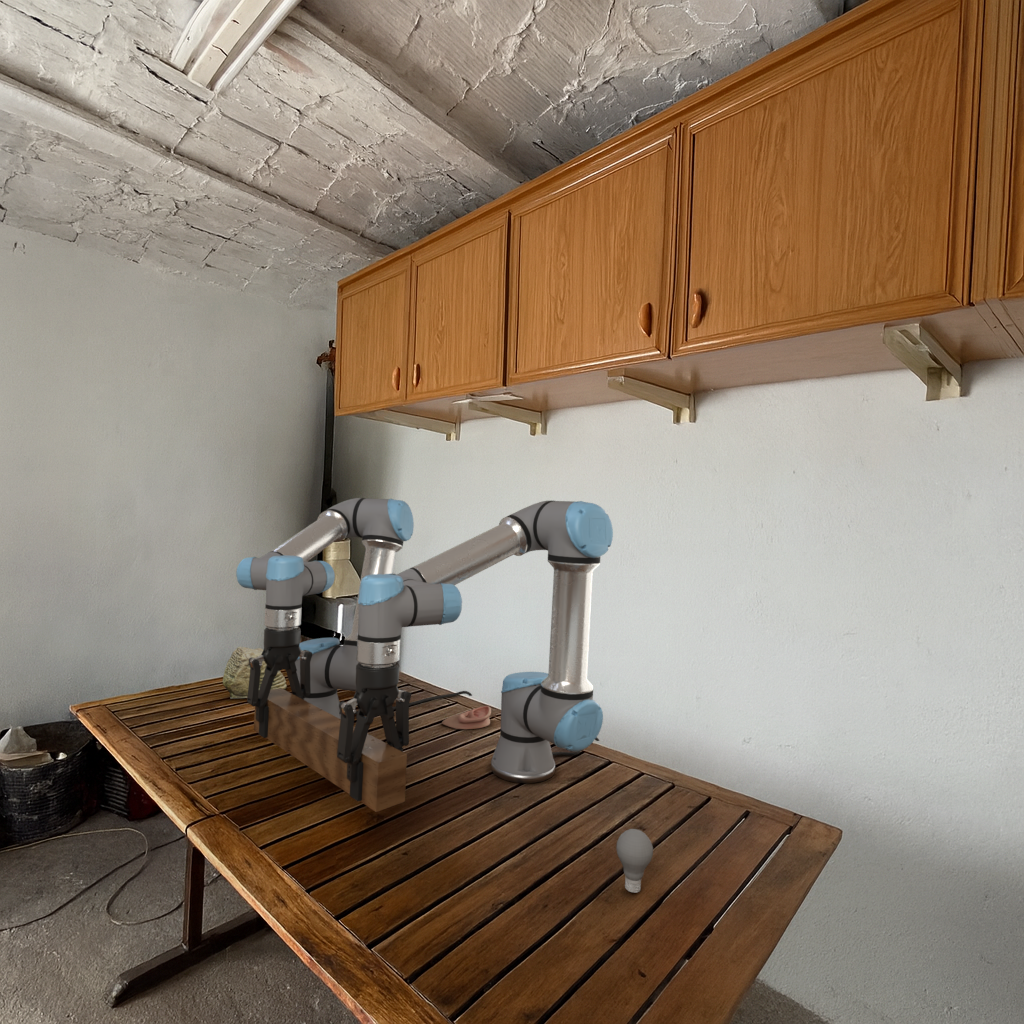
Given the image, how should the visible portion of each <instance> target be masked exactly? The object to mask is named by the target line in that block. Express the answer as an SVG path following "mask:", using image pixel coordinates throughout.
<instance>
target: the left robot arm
mask: <svg viewBox="0 0 1024 1024" xmlns="http://www.w3.org/2000/svg"><path fill="white" fill-rule="evenodd" d="M414 527H415V525H414V515H413V512H412V509H411V507H410V505H409V504H408V503H407V502H406V501H405V500H401V499H395V498H394V499H393V498H366V497H354V498H350V499H347V500H344V501H341V502H339V503H337V504H333V505H332V506H331V507H329V508H326V509H325V510H324V511H322V512H321V513H320V514H319V515H318V517H317V519H316V520H315V521H314V522H312V523H310V524H308V525H307V526H306V527H305V528H302V530H300V531H299V532H297V533H295V534H294V535H293V536H291V537H289V538H287V540H285V541H283V542H282V543H281V544H279V545H277V546H276V547H274V548H273V549H271V550H270V551H268V552H266V553H265V554H263V555H262V556H260V557H257V556H251V557H244V558H243V559H241V560H240V562H239V563H238V565H237V568H236V574H235V575H236V581H237V584H239V585H240V586H241V587H242V588H244V589H249V590H254V591H265V607H264V623H263V625H264V626H265V629H263V652H262V654H261V655H260V656H258V657H256V658H253V657H251V658H249V665H250V678H249V687H248V697H247V698H246V702H247V704H248V705H250V706H252V707H255V706H256V721H258V722H259V733H258V736H259V737H262V738H264V739H267V738H266V737H268V718H269V707H268V706H266V702H267V699H268V696H269V693H270V690H271V687H272V684H273V681H274V678H275V676H276V675H277V672H278V671H280V672H281V671H283V670H285V672H286V676H287V679H288V682H289V683H288V684H289V688H290V690H291V691H290V692H291V694H293V695H295V696H297V697H299V698H301V699H303V700H305V701H307V702H309V703H310V704H312V705H314V706H316V707H318V708H320V709H322V710H324V711H326V712H328V713H329V714H331V715H333V716H335V717H337V718H339V719H341V713H340V709H339V703H340V702H341V701H340V699H339V695H338V690H341V691H350V692H354V693H356V683H355V680H356V665H357V664H358V663H359V662H358V661H357V660H356V655H357V639H358V618H359V604H358V599H359V592H360V585H361V580H362V579H363V578H364V577H365V576H367V575H372V574H394V571H395V570H394V569H395V564H396V556H397V553H398V552H400V551H401V550H402V549H403V547H404V542H408V541H410V540H411V538H412V536H413V534H414ZM348 538H349V539H350V538H359V539H360V538H361V544H362V545H363V546H364V548H365V552H364V558H363V564H362V569H361V570H362V571H361V575H360V581H359V587H358V592H357V599H356V604H355V609H354V610H355V611H354V615H353V622H352V627H351V633H350V634H349V635H348V636H346V637H345V638H344V641H343V645H340V644H341V641H340V639H339V638H337V637H320V638H319V637H318V638H313V639H307V640H304V641H302V642H301V632H302V631H301V630H302V629H301V628H300V626H301V625H302V609H303V608H302V607H303V606H302V605H303V597H306V596H310V595H315V594H316V595H319V594H321V593H323V592H326V591H328V590H329V589H331V587H332V586H333V585H334V583H335V579H336V577H335V576H336V575H335V569H334V568H333V567H332V565H331V564H330V563H329V562H327V561H324V560H312V559H313V558H314V557H316V556H317V555H318V554H320V553H321V552H322V551H324V550H325V549H327V548H328V547H329V546H331V545H332V544H333V543H340V542H341V541H343V540H344V539H348ZM310 560H312V561H310ZM263 661H264V662H265V663H266V664H267V665H266V668H265V674H264V677H263V680H262V683H261V686H260V689H259V683H260V674H261V668H260V667H261V666H262V662H263ZM460 695H467V696H469V697H472V696H473V694H472V693H471V691H467V690H461V691H456V692H455V693H447V694H441V695H435V696H431V697H426V698H422V699H419V700H415V701H410V702H409V707H411V706H414V705H418V704H422V703H425V702H430V701H433V700H434V701H435V700H441V699H445V698H452V697H457V696H460ZM393 710H394V711H396V705H394V706H393ZM357 713H358V710H356V712H355V713H354V715H357Z"/></svg>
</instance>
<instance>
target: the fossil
mask: <svg viewBox="0 0 1024 1024" xmlns="http://www.w3.org/2000/svg"><path fill="white" fill-rule="evenodd" d="M263 650H264V648H260V647H258V648H251V647H247V646H246V647H245V646H238V647H237V648H236V649H235V650H233V651H232V653H231V656H230V657H229V659H228V660H227V663H226V666H225V668H224V671H223V675H222V676H223V677H222V685H223V687H224V688H225V690H226V691H228V693H229V698H230V699H247V697H248V687H249V678H250V665H249V658H251V657H253V658H256V657H258V656H260V655H261V654H262V652H263ZM266 665H267V664H266V663H265V662H264V661H263V662H262V666H261V667H260V668H261V674H260V683H259V689H260V686H261V683H262V680H263V677H264V674H265V668H266ZM287 687H288V686H287V680H286V678H285V676H284V674H283V673H282V672H281V670H280V671H278V672H277V675H276V676H275V678H274V681H273V684H272V687H271V690H272V689H278V688H282V689H284V690H286V689H287ZM286 691H287V690H286Z"/></svg>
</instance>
